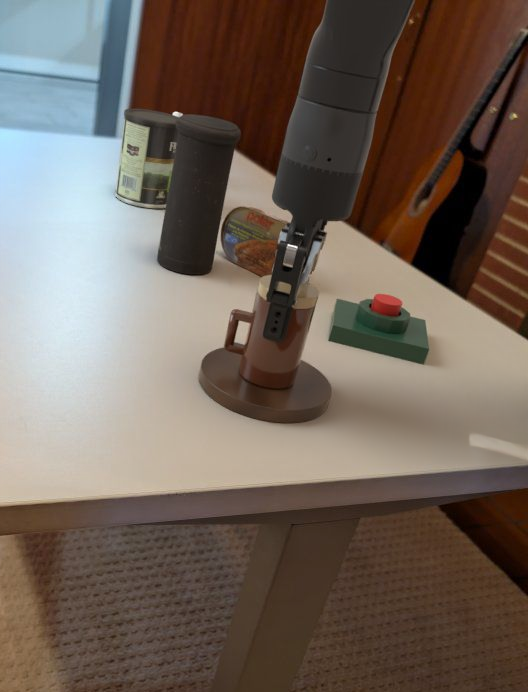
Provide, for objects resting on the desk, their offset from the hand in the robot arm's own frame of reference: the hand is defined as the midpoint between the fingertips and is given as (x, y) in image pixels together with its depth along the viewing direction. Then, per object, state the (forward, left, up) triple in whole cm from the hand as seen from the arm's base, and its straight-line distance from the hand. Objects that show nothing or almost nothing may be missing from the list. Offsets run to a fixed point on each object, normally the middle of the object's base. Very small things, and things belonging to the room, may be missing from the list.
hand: (279, 327), depth 76 cm
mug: (+1, 0, -5) cm, 6 cm away
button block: (-12, -22, -7) cm, 26 cm away
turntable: (0, 0, -7) cm, 7 cm away
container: (+16, -32, -7) cm, 36 cm away
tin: (+6, -37, -7) cm, 38 cm away
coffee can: (+30, -60, -7) cm, 67 cm away
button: (-12, -22, -3) cm, 25 cm away
